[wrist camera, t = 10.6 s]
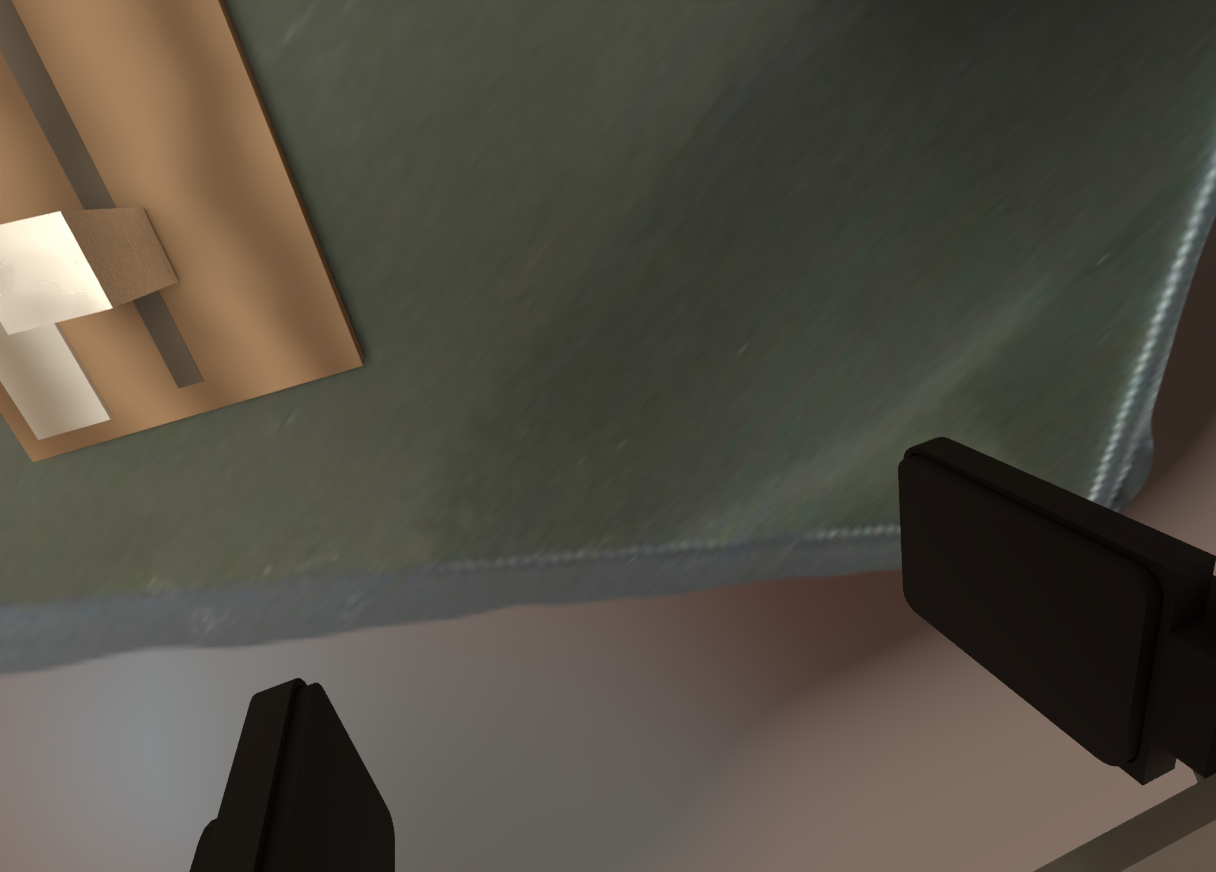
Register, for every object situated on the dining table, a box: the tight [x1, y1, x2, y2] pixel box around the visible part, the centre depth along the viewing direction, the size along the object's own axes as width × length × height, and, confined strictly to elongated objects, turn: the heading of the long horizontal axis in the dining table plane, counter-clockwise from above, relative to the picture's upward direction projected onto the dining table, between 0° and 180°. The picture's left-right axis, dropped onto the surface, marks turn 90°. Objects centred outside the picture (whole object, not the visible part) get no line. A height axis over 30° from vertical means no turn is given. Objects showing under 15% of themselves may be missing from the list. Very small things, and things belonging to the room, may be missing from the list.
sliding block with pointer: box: [0, 207, 179, 335], centre depth 26 cm, size 7×3×8 cm, turn 103°
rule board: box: [0, 0, 364, 462], centre depth 25 cm, size 16×26×10 cm, turn 13°
